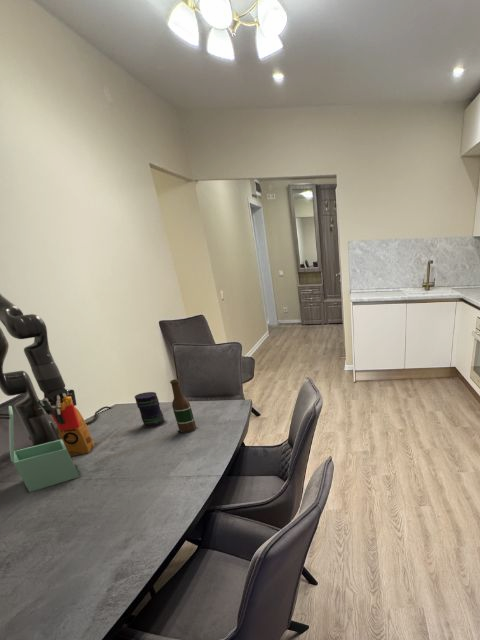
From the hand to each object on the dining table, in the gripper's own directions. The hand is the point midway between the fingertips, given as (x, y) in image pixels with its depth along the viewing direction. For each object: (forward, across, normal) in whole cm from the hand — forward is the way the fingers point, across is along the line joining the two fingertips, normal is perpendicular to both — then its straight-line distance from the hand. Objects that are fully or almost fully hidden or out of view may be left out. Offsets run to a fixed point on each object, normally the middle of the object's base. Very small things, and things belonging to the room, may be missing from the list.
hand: (67, 420), depth 146 cm
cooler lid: (0, +13, -11) cm, 17 cm away
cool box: (+20, +9, -8) cm, 23 cm away
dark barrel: (+20, -47, -2) cm, 51 cm away
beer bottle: (+20, -41, +20) cm, 50 cm away
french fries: (+3, 0, 0) cm, 3 cm away
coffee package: (+20, -15, -16) cm, 30 cm away
